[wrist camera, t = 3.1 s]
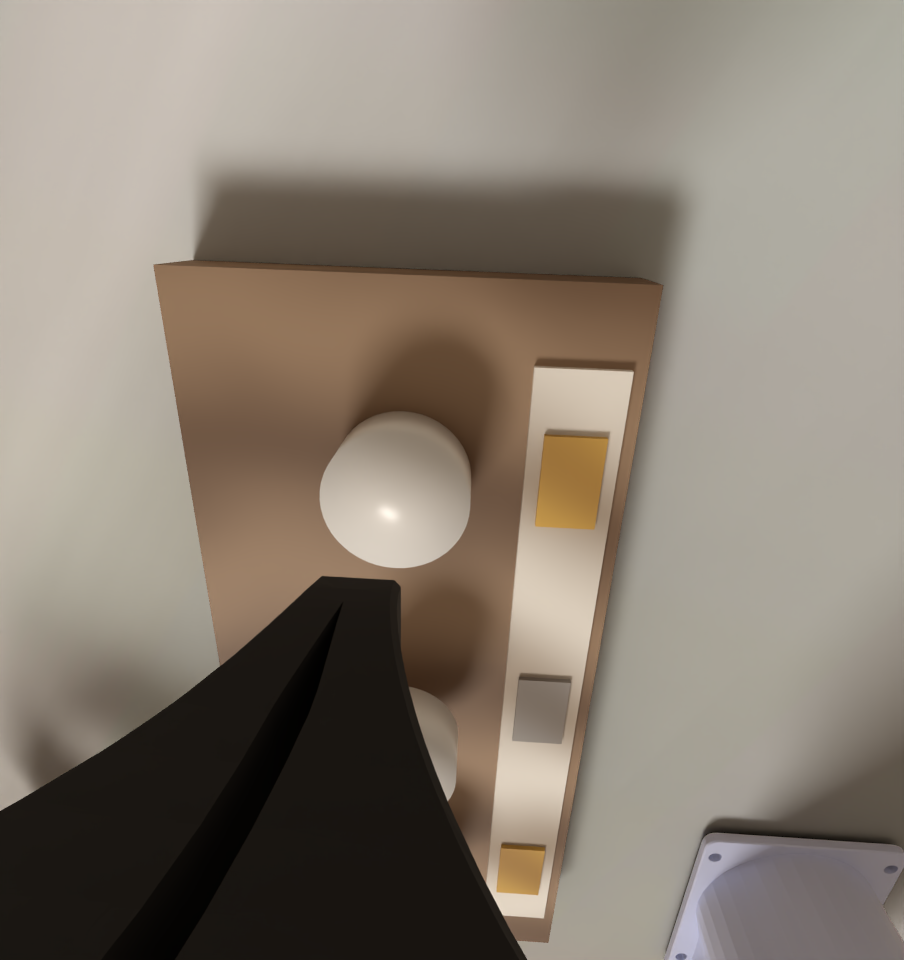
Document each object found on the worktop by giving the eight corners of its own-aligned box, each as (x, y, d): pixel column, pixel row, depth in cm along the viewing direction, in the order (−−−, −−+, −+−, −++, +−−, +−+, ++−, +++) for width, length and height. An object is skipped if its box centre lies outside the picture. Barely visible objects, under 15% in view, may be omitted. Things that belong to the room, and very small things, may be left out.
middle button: (456, 776, 18) (453, 824, 17) (342, 768, 18) (330, 816, 17) (460, 689, 17) (458, 733, 15) (337, 681, 17) (323, 725, 15)
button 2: (468, 540, 16) (466, 572, 14) (338, 533, 16) (324, 564, 14) (474, 414, 14) (473, 435, 13) (331, 408, 14) (314, 428, 13)
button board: (543, 891, 26) (549, 952, 23) (278, 872, 26) (259, 931, 24) (641, 277, 15) (667, 286, 13) (192, 260, 15) (145, 265, 13)
